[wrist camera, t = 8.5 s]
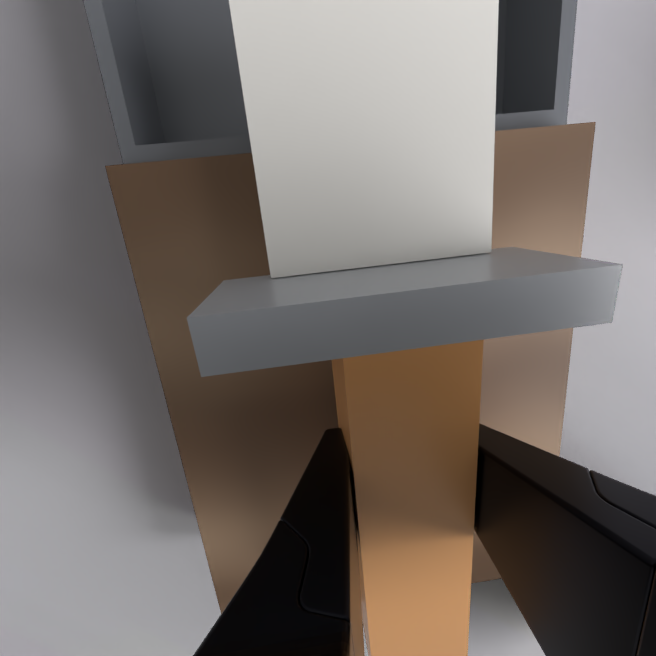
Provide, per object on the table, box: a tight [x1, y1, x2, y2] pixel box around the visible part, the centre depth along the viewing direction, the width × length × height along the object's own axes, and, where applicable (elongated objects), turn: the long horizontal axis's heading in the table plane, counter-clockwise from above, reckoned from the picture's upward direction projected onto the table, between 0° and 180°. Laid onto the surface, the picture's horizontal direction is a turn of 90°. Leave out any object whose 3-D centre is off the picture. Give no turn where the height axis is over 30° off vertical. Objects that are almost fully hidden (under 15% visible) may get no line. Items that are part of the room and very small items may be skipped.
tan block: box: [105, 122, 595, 614], centre depth 12 cm, size 15×12×4 cm
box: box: [83, 0, 577, 164], centre depth 10 cm, size 8×12×3 cm, turn 96°
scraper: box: [187, 247, 623, 656], centre depth 8 cm, size 10×7×3 cm
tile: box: [229, 0, 499, 278], centre depth 8 cm, size 5×5×2 cm
